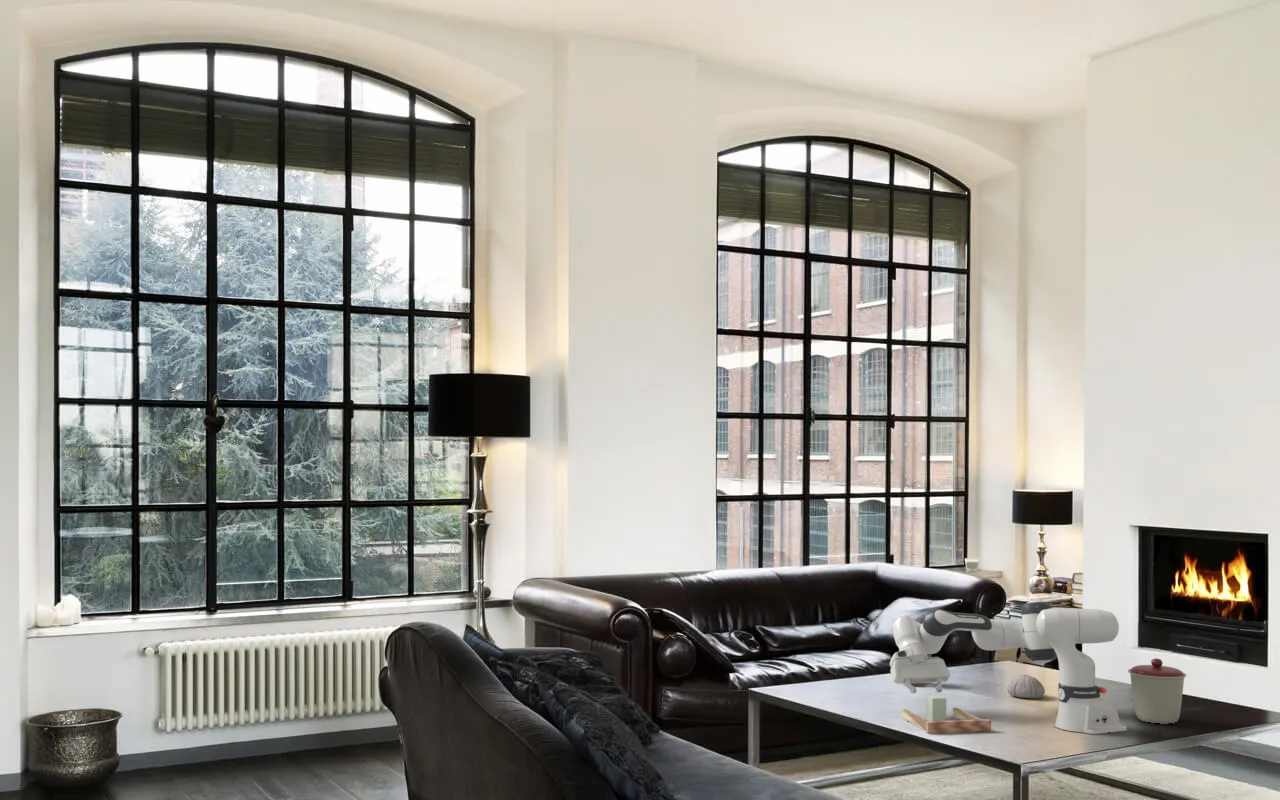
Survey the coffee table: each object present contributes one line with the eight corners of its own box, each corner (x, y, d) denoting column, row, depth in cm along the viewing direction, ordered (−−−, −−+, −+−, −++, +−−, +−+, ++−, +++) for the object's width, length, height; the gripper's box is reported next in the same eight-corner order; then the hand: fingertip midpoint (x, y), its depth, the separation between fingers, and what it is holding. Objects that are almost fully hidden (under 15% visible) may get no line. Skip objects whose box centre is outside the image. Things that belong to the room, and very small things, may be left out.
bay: (959, 716, 402) (959, 706, 402) (991, 731, 380) (991, 720, 381) (899, 718, 398) (899, 708, 398) (927, 733, 376) (927, 722, 376)
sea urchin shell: (1005, 692, 446) (1005, 671, 446) (1042, 694, 443) (1042, 672, 443) (1008, 699, 433) (1008, 677, 433) (1047, 701, 430) (1047, 679, 430)
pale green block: (939, 719, 398) (939, 695, 398) (946, 722, 393) (946, 698, 393) (925, 719, 397) (925, 695, 397) (932, 722, 392) (932, 698, 392)
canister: (1120, 714, 408) (1120, 653, 409) (1174, 716, 407) (1173, 654, 408) (1139, 726, 390) (1139, 662, 391) (1195, 728, 389) (1195, 663, 390)
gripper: (939, 662, 415) (952, 695, 405) (885, 664, 411) (896, 698, 401) (945, 651, 411) (958, 685, 401) (890, 653, 407) (902, 687, 397)
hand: (926, 691), depth 401 cm, fingers open, 8 cm apart
